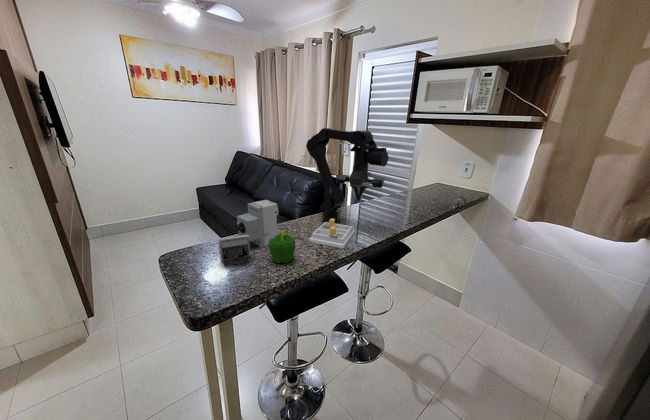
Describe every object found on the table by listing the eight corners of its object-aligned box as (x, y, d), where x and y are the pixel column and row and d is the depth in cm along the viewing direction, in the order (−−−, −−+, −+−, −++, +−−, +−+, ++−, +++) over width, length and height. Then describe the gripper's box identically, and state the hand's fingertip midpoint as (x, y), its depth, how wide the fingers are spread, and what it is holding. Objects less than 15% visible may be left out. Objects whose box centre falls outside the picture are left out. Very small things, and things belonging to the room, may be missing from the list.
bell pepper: (286, 269, 78) (285, 239, 75) (265, 262, 82) (263, 234, 78) (300, 257, 85) (300, 230, 82) (280, 251, 89) (279, 225, 86)
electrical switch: (250, 255, 86) (248, 231, 82) (252, 264, 81) (250, 239, 78) (220, 260, 82) (217, 236, 78) (221, 270, 78) (218, 244, 74)
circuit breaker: (235, 245, 92) (231, 206, 88) (268, 234, 102) (266, 199, 97) (245, 252, 87) (242, 212, 83) (279, 240, 97) (278, 203, 92)
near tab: (327, 238, 96) (327, 228, 95) (330, 236, 99) (330, 225, 98) (334, 240, 95) (335, 229, 94) (337, 237, 98) (337, 226, 97)
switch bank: (309, 241, 97) (309, 234, 96) (324, 227, 111) (324, 220, 110) (343, 248, 92) (344, 240, 91) (354, 232, 106) (355, 225, 105)
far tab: (327, 230, 105) (327, 220, 103) (329, 227, 107) (329, 217, 106) (333, 231, 104) (334, 221, 102) (336, 228, 106) (336, 219, 105)
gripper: (332, 164, 96) (331, 203, 101) (381, 168, 90) (377, 209, 95) (341, 161, 106) (339, 196, 111) (386, 164, 99) (382, 202, 104)
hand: (358, 201), depth 105 cm, fingers closed
